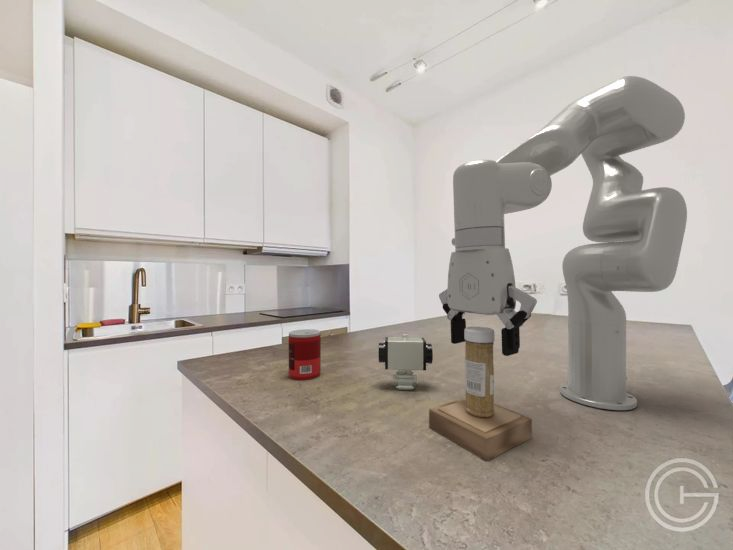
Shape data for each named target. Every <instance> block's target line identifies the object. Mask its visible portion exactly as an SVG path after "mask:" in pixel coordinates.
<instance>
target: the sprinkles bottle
mask: <svg viewBox="0 0 733 550" xmlns="http://www.w3.org/2000/svg"><path fill="white" fill-rule="evenodd" d="M495 338H496V337H495V330H494V329H493V328H491V327H486V326H485V327H484V326H468V327H467V326H466V328H465V330H464V339H465V342H464V343H465V346H464V347H465V357H464V381H465V382H464V383H465V385H464V390H465V398H466V405H465V410H466V411H467V412H468V413H469V414H471V415H474V416H478V417H490V416H492V415H494V413H495V410H494V404H495V403H494V402H495V397H494V396H495V395H494V393H495V371H494V370H495V368H494V342H495Z"/></svg>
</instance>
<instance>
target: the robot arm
mask: <svg viewBox="0 0 733 550" xmlns="http://www.w3.org/2000/svg"><path fill="white" fill-rule="evenodd" d="M685 118H686V115H685V109H684V107H683V104H682V102H681V101H680V100H679V98H677V97H676V96H675V95H674V94H673V93H671V92H669V91H668V90H667V89H665V88H663V87H661V86H660V85H658V84H656V83H655V82H654V81H651V80H649V79H646V78H644V77H642V76H641V77H640V76H634V75H627V76H622V77H620V78H618V79H616V80H614V81H611V82H609V83H607V84H606V85H603V86H601V87H599V88H597V89H595V90H593V91H591V92H589V93H587V94H585V95H583V96H580V97H579V98H577V99H576V100H574V101H572V102H571V103H570V104H568V105H567V106H565V107H564V108H563V109H562V110H561V111H560V112H559V113H557V114H556V115H555V116H554V117H553V118H552V119H551V120H550V121H549V122H548V123H547V124H545V125H544V126H543V127H542V128H541V129H539V131H537V132H536V133H534V134H533V135H531V136H530V137H529V138H527V139H526V140H524V141H523V142H522V143H520V144H519V145H518V146H516V147H515V148H513V149H512V150H510V151H508V152H507V153H506V154H504V155H502V156H501V157H500V158H499V159H497V160H492V159H478V160H477V159H476V160H472V161H471V160H470V161H468V162H465V163H463V164H460V165H459V166H458V167H457V168H456V169H455V170H454V172H453V175H452V176H453V177H452V179H453V180H452V190H453V192H452V193H453V219H454V221H453V222H454V224H453V225H454V237H453V238H452V239H451V245H452V246H454V248H455V249H454V251H451V254H450V258H449V263H448V273H447V288H446V289H444V290H443V291H442V292H441V293H439V294H438V297H439V300H440V303H441V305H442V309H443V311H444V313H446V315H447V316H446V318H447V320H448V321H450V342H451V344H454V345H457V344H460V343H466V342H465V339H464V330H465V328H467V323H466V322H467V321H466V318H464V316H465V314H467V313H469V314H476V315H477V314H478V315H485V316H486V315H487V316H494V315H497V318H499V320H500V321H501V323H502V325H504V327H503V328H501V330H500V331H501V354H502V355H503V356H505V357H509V356H512V355H515V354H519V350H520V347H521V337H520V328H521V327H523V325H524V323H525V322H527V321H528V320H529V319H530V317H531V316H532V313H533V311H534V309H535V307H536V305H537V303H538V299H537V298H535V297H533V296H531V294H528V293H527V292H524V291H523V290H521V289H520V288H517V286H516V279H515V277H516V276H515V272H514V266H513V260H512V257H511V253H510V249H509V248H506V239H505V238H506V236H505V235H506V234H505V233H506V232H505V230H506V229H505V215H506V214H512V213H517V212H522V211H526V210H530V209H533V208H536V207H538V206H540V205H541V204H542V203H544V202H545V201H546V200H547V199H548V198H549V196H550V194H551V191H552V183H553V182H552V177H551V176H552V175H555V174H557V173H559V172H560V171H562V170H564V169H566V168H567V167H569V166H570V165H572V164H573V163H574V161H575V162H576V160H577V158H578V157H579V156H580V155H581V156H582V159H583V161H584V162H585V165H586V167H587V169H588V171H589V173H590V175H591V178H592V188H591V192H590V195H589V200H588V203H587V205H586V211H585V213H584V217H583V223H582V232H583V236H584V237H585V238H586V239H588V240H589V241H591V242H595V243H590V244H589V243H588V244H582V245H579V246H577V247H576V246H575V247H574V248H572V249H570V250H568V252H567V253H566V254H565V256H564V257H563V260H562V275H563V280H564V283H565V289H566V294H567V308H568V309H567V311H568V312H567V313H568V314H567V315H568V319H567V320H568V321H567V325H568V328H567V329H568V330H567V331H568V335H567V336H568V337H567V339H568V340H567V341H568V347H567V348H568V349H567V351H568V352H567V353H568V354H567V356H568V357H567V358H568V361H567V363H568V366H567V367H568V369H567V370H568V371H567V372H568V374H567V375H568V378H567V379H568V382H564V383H562V384H560V386H559V393H561V395H563V396H564V397H565V398H567V399H568V400H570V401H573V402H575V403H577V404H581V405H585V406H587V407H588V406H589V407H592V408H596V409H603V410H612V411H629V410H633V409H635V408H637V406H638V400H637V398H636V397H635V396H634V395H632V394H630V393H628V391H627V380H628V377H627V314H626V311H625V308H624V306H623V305H622V302H620V301H619V299H618V298H617V297H616V296H615V294H614V293H613V292H630V293H631V292H639V293H640V292H641V293H655V292H661V291H663V290H667V289H668V288H669V287H670V286H671V284H672V283H673V281H674V279H675V277H676V274H677V270H678V266H679V261H680V256H681V251H682V247H683V242H684V236H685V232H686V229H687V227H686V226H687V220H688V219H687V218H688V210H687V203H686V200H685V198H684V196H683V195H682V194H681V192H679V191H678V190H677V189H674V188H672V187H667V186H665V187H661V186H660V187H654V188H653V187H652V188H648V189H643V185H644V176H643V173H641V171H640V170H639V169H638V168H637V167H635V166H634V165H633V164H631V163H629V162H627V161H625V160H624V159H622V157H620V156H622V155H626V154H629V153H632V152H635V151H639V150H642V149H645V148H649V147H651V146H655V145H660V144H662V143H665V142H667V141H669V140H671V139H673V138H675V137H676V135H678V134H679V133H680V131H681V130H682V129H683V126H684V124H685V120H686V119H685ZM517 302H518V303H520V307H519V310H517V311H516V310H515V309H516V307H517Z"/></svg>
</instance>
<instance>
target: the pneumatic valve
mask: <svg viewBox="0 0 733 550" xmlns="http://www.w3.org/2000/svg"><path fill="white" fill-rule="evenodd" d="M433 357H434V355H433V345H432V343H427V341H426V338H424V337H408V334H407V333H406V334H405V333H403V334H402V336H399V337H398V336H396V337H395V336H385V338H384V340H383V342H378V364H379V363H382V364H383V365H384V367H385V368H384V369H385V370H388V371H389V370H393V371H394V370H395V374H393V375H392V377H393V378H392V383H393V384H392V385H393V386H395V388H396V390H398V391H413V390H415V387H417V386H418V375H417V374H414V371H427V367H428V365H431V364H433V359H434V358H433Z"/></svg>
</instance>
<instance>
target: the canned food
mask: <svg viewBox="0 0 733 550" xmlns="http://www.w3.org/2000/svg"><path fill="white" fill-rule="evenodd" d="M321 335H322V334H321V331H320V330H319V329H311V328H310V329H304V328H303V329H295V330H291V331H289V332H288V375H289V378H290V379H292V380H294V379H295V381H308V380H307V379H309V380H312V378H313V379H316V378H318V377H319V376H320V374H321V371H322V370H321V362H322V361H321V360H322V359H321V354H322V353H321V349H322V348H321V347H322V346H321V340H322V339H321ZM317 376H318V377H317ZM315 377H316V378H315Z"/></svg>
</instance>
